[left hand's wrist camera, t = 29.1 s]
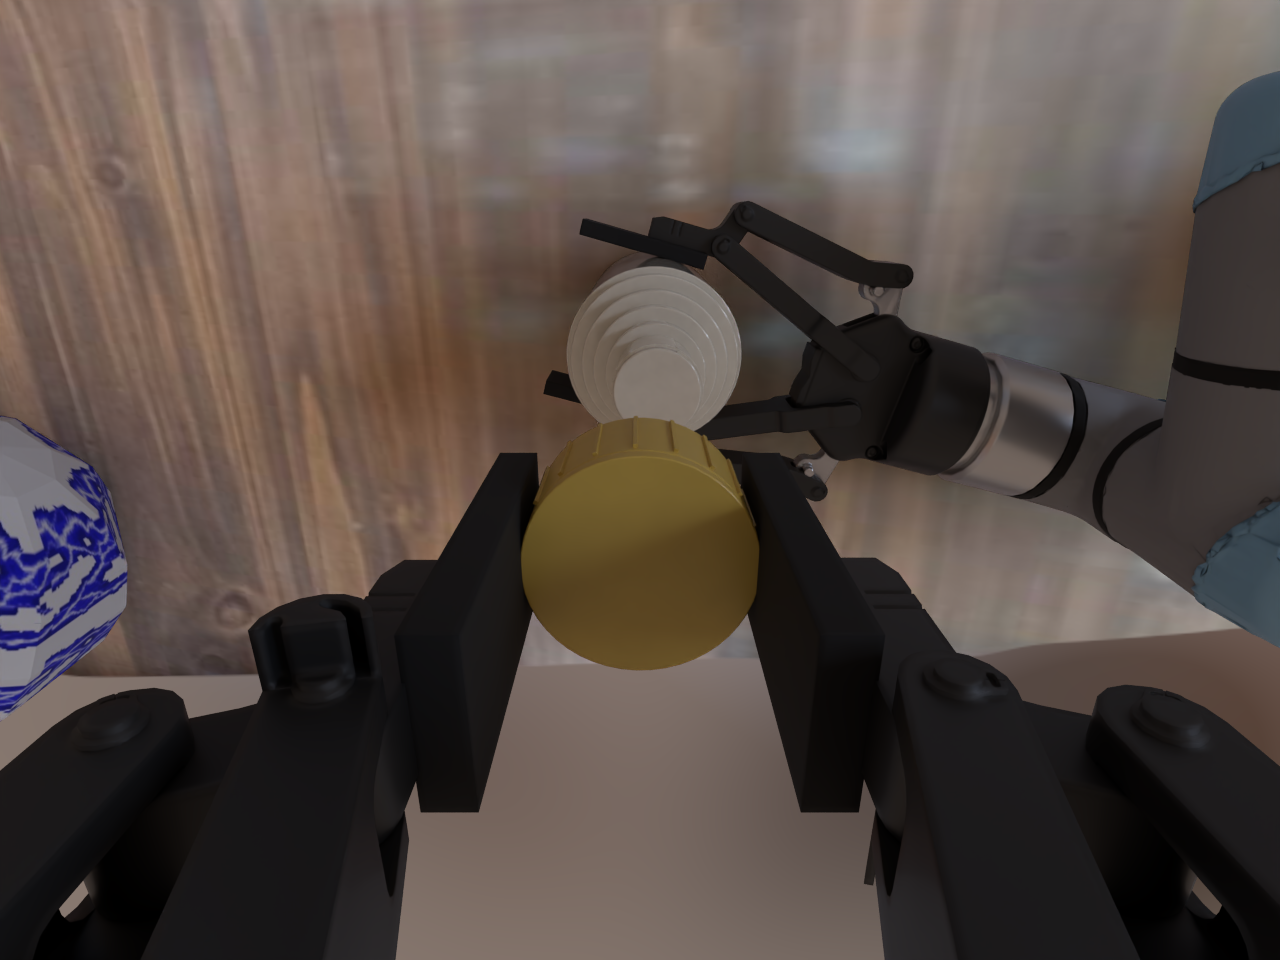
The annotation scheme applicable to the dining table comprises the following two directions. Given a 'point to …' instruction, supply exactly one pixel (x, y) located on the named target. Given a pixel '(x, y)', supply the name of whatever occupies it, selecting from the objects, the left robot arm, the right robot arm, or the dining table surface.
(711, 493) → the cap
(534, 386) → the dining table surface
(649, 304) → the bottle
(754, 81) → the dining table surface
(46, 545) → the ornament
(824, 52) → the dining table surface
